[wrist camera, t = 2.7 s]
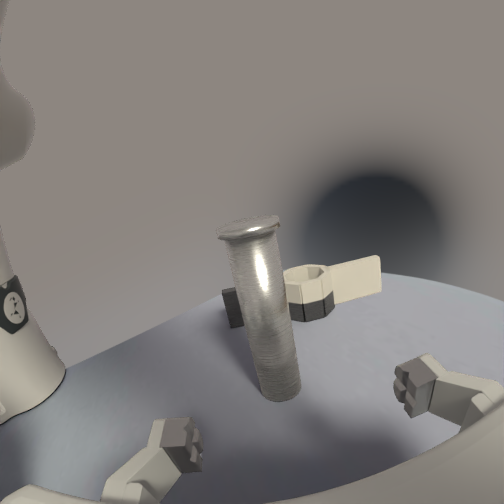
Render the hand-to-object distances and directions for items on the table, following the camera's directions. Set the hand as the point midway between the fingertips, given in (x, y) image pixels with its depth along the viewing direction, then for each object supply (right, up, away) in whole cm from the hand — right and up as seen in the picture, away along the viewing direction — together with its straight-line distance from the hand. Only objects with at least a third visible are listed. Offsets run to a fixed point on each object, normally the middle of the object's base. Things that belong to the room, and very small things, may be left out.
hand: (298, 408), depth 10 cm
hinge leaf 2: (+9, -1, +28) cm, 30 cm away
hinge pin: (+1, -6, +14) cm, 16 cm away
